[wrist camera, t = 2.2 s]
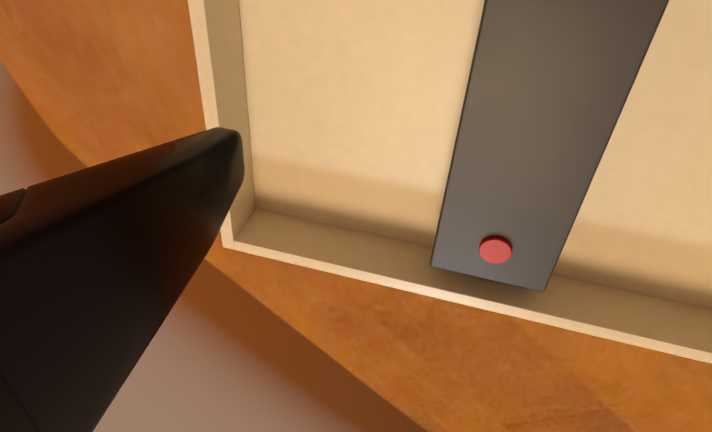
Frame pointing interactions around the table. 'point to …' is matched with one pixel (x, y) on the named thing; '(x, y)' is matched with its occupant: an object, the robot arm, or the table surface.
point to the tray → (434, 153)
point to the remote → (536, 130)
